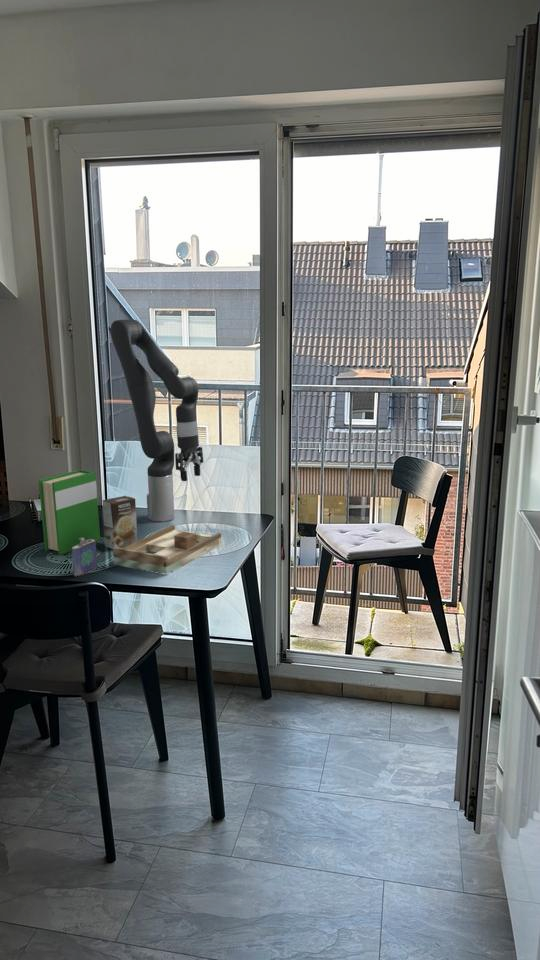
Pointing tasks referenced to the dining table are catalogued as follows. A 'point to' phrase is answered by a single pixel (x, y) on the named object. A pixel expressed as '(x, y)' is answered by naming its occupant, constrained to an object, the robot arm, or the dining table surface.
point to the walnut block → (185, 540)
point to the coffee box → (119, 521)
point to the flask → (84, 557)
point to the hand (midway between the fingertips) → (191, 478)
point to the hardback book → (69, 510)
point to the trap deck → (163, 551)
